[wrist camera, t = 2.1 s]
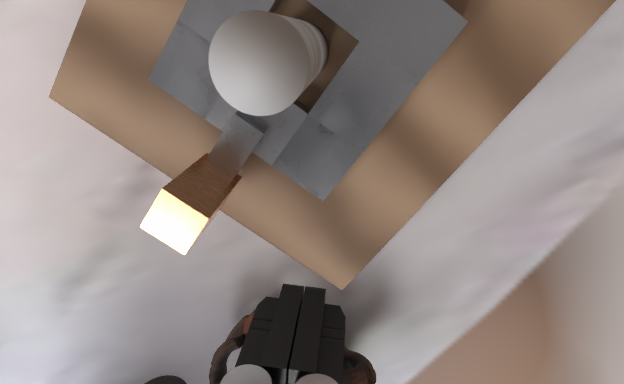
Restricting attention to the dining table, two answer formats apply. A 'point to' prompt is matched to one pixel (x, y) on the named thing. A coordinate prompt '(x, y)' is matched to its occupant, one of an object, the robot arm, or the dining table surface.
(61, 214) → the dining table surface
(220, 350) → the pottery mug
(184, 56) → the knobbed grey plate
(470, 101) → the post base
